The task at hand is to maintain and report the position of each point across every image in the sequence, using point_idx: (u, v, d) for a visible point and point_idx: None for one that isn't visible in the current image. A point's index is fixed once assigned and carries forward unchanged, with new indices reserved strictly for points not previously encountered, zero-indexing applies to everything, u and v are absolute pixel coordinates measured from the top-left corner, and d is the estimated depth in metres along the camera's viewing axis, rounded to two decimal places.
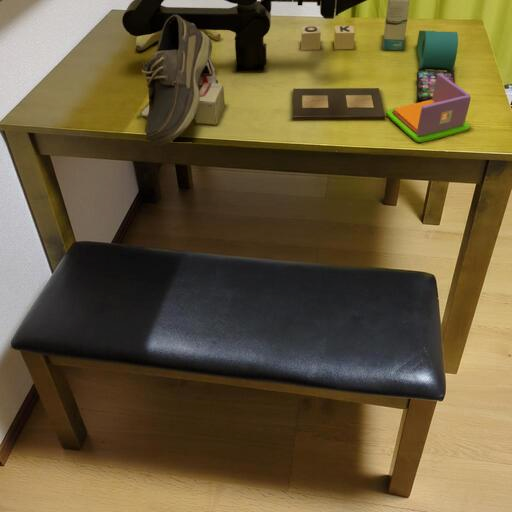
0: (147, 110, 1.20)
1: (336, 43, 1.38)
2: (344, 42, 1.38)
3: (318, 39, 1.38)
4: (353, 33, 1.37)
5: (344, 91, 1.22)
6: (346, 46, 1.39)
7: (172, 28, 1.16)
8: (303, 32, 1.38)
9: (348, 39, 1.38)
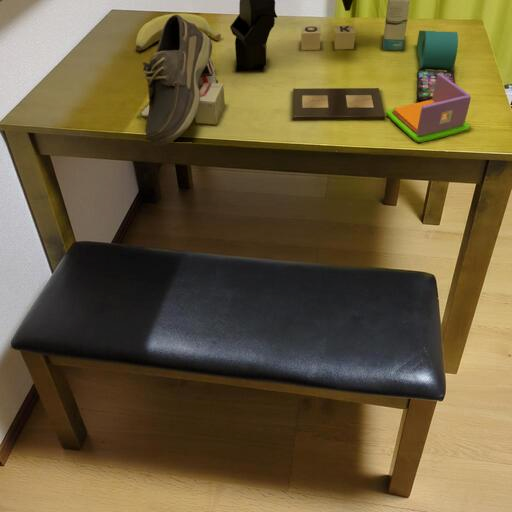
0: (147, 110, 1.20)
1: (336, 43, 1.38)
2: (344, 42, 1.38)
3: (318, 39, 1.38)
4: (353, 33, 1.37)
5: (344, 91, 1.22)
6: (346, 46, 1.39)
7: (172, 28, 1.16)
8: (303, 32, 1.38)
9: (348, 39, 1.38)
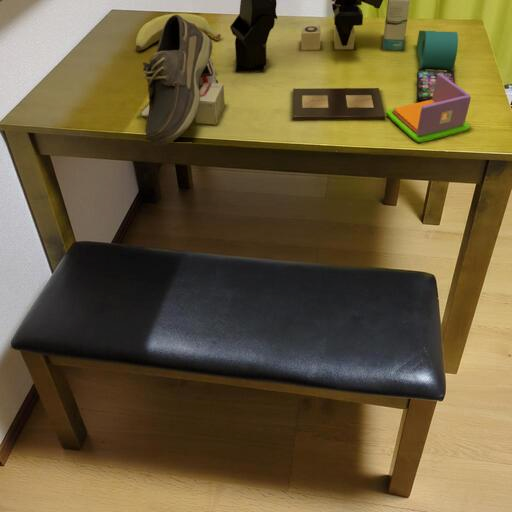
0: (147, 110, 1.20)
1: (336, 43, 1.38)
2: None
3: (318, 39, 1.38)
4: (353, 33, 1.37)
5: (344, 91, 1.22)
6: (346, 46, 1.39)
7: (172, 28, 1.16)
8: (303, 32, 1.38)
9: None
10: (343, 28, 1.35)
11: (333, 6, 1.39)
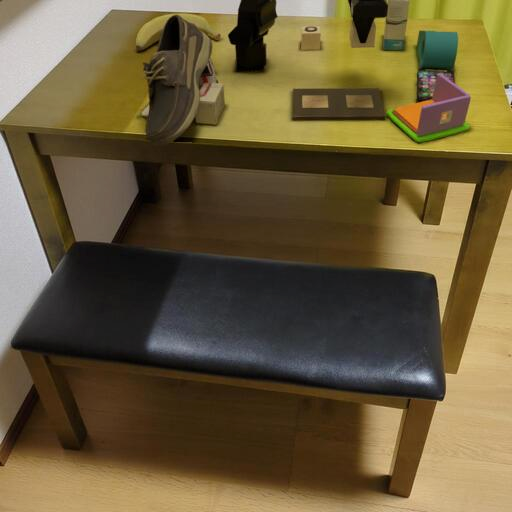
0: (147, 110, 1.20)
1: (353, 40, 1.14)
2: None
3: (318, 39, 1.38)
4: (374, 28, 1.12)
5: (344, 91, 1.22)
6: (365, 44, 1.14)
7: (173, 28, 1.16)
8: (303, 32, 1.38)
9: (368, 35, 1.13)
10: (362, 22, 1.10)
11: None
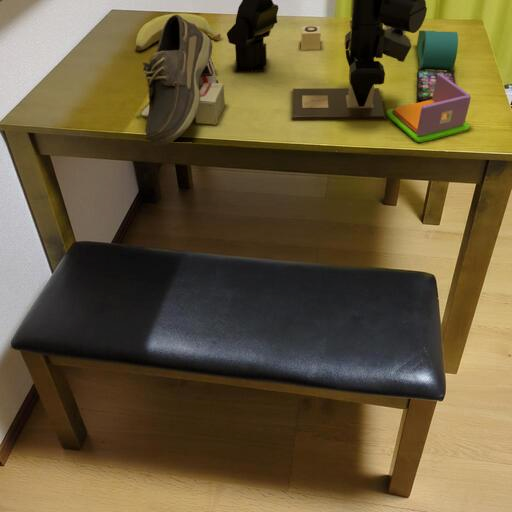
0: (147, 110, 1.20)
1: (351, 99, 1.16)
2: None
3: (318, 39, 1.38)
4: (372, 88, 1.14)
5: (344, 91, 1.22)
6: None
7: (173, 28, 1.16)
8: (303, 32, 1.38)
9: None
10: (360, 87, 1.11)
11: (347, 53, 1.17)
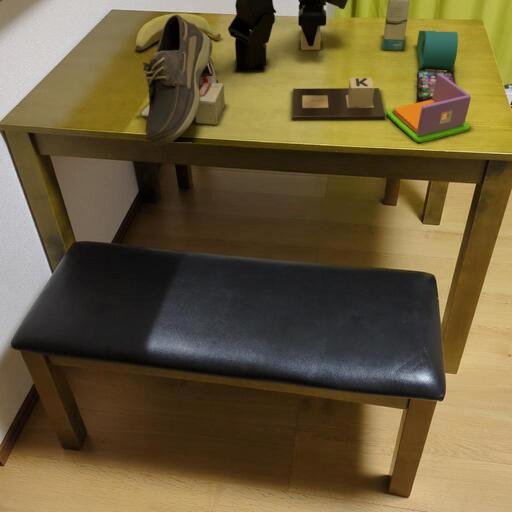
0: (147, 110, 1.20)
1: (351, 99, 1.16)
2: (360, 98, 1.15)
3: (318, 39, 1.38)
4: (372, 88, 1.14)
5: (344, 91, 1.22)
6: (363, 103, 1.16)
7: (173, 28, 1.16)
8: None
9: (366, 95, 1.15)
10: (308, 28, 1.35)
11: (299, 7, 1.39)
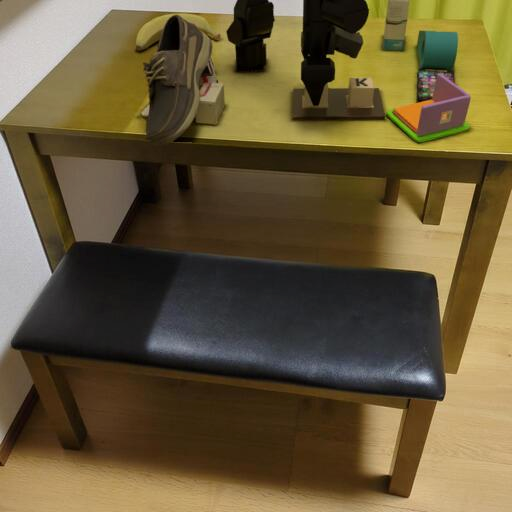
0: (147, 110, 1.20)
1: (351, 99, 1.16)
2: (360, 98, 1.15)
3: (325, 95, 1.15)
4: (372, 88, 1.14)
5: (344, 91, 1.22)
6: (363, 103, 1.16)
7: (173, 28, 1.16)
8: None
9: (366, 95, 1.15)
10: (313, 86, 1.10)
11: None
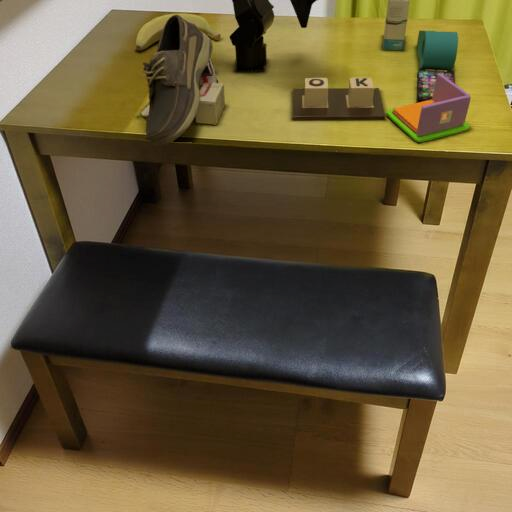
0: (147, 110, 1.20)
1: (351, 99, 1.16)
2: (360, 98, 1.15)
3: (325, 95, 1.15)
4: (372, 88, 1.14)
5: (344, 91, 1.22)
6: (363, 103, 1.16)
7: (173, 28, 1.16)
8: (307, 86, 1.15)
9: (366, 95, 1.15)
10: (301, 7, 1.15)
11: None
